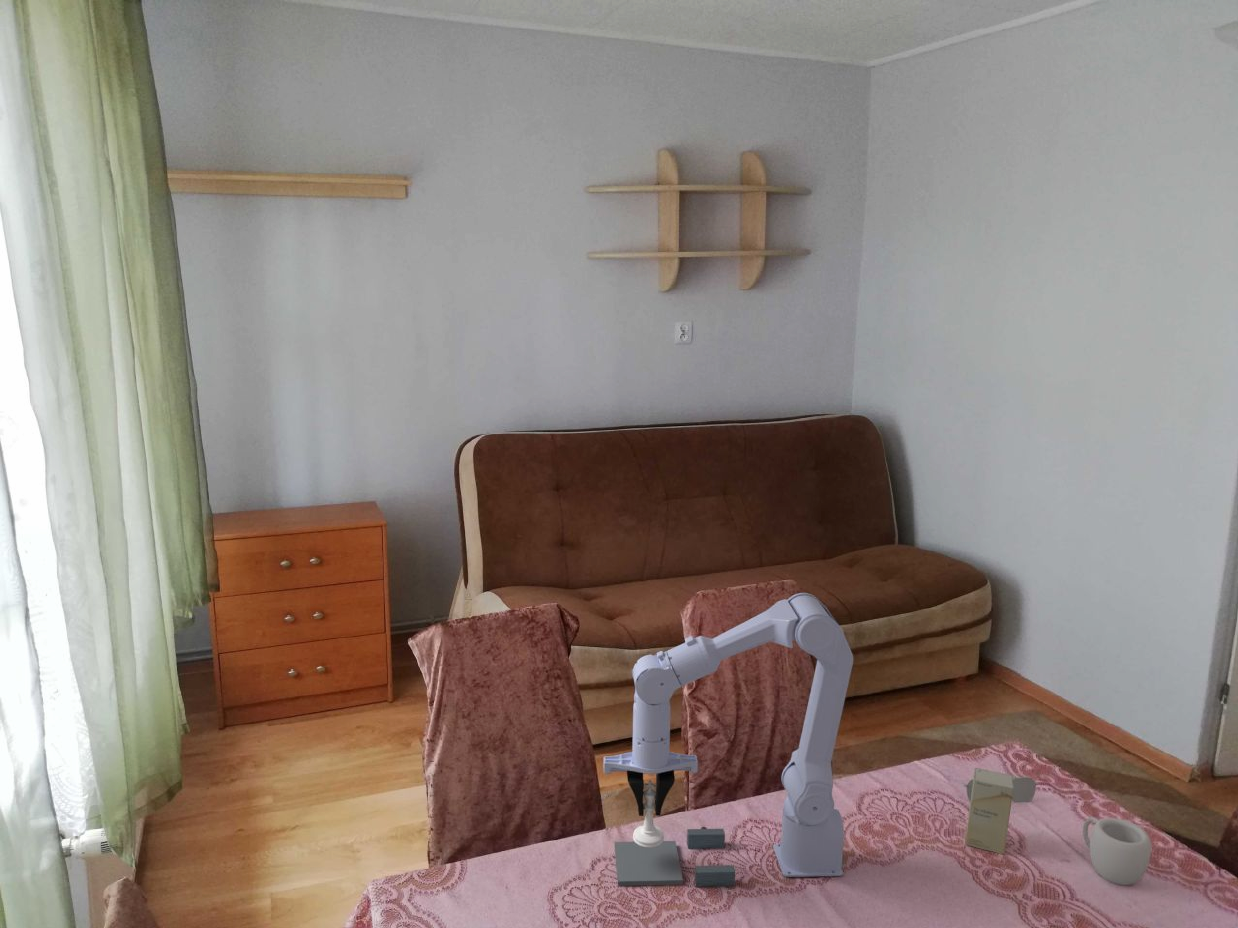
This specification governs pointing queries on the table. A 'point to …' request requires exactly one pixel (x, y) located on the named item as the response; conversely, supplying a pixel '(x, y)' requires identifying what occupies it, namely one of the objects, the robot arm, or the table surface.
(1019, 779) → the sunglasses
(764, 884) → the table surface
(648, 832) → the chess piece
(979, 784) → the skincare box
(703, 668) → the robot arm
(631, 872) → the mat
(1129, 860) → the mug
